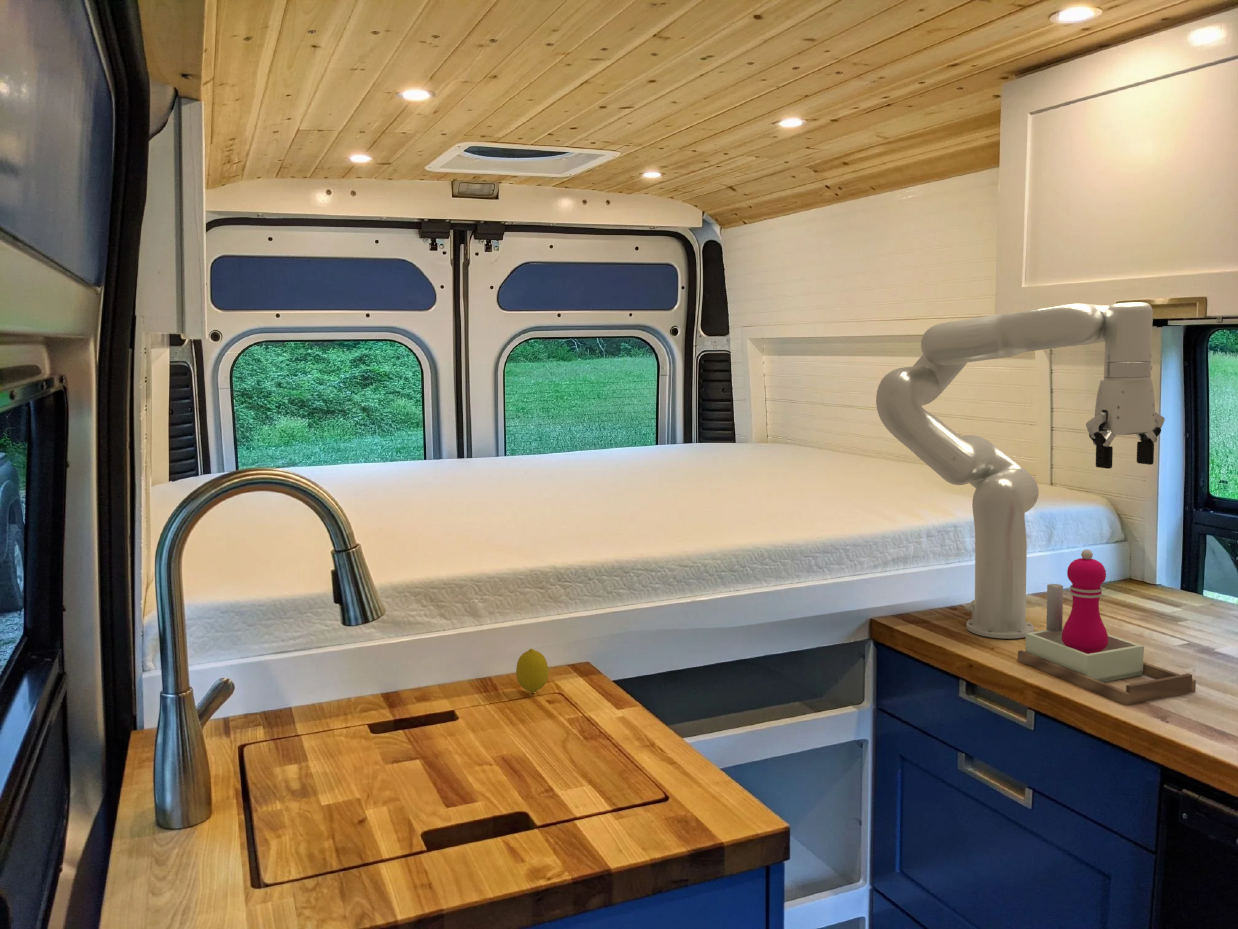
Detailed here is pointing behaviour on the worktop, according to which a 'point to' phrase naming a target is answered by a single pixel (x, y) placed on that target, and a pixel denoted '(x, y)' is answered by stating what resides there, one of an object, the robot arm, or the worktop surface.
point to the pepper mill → (1085, 606)
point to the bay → (1134, 693)
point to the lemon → (532, 670)
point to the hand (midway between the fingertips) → (1124, 465)
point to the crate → (1102, 666)
